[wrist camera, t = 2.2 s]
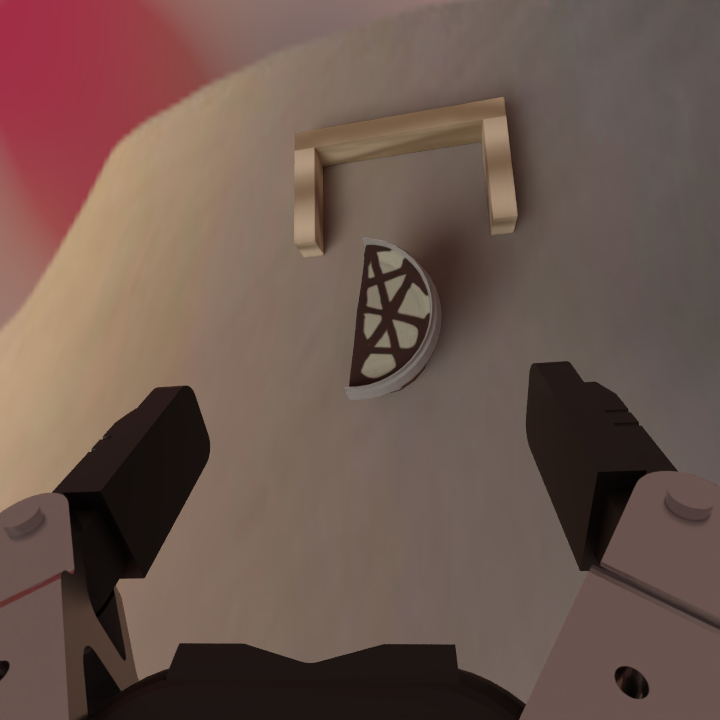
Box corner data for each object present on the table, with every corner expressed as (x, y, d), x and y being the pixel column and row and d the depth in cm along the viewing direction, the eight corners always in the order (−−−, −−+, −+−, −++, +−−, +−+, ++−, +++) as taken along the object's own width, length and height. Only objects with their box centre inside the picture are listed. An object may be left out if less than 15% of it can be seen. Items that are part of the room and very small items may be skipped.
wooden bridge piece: (513, 232, 41) (517, 215, 39) (304, 257, 45) (294, 243, 42) (500, 120, 44) (503, 96, 41) (304, 152, 48) (294, 133, 45)
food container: (438, 418, 39) (433, 403, 30) (369, 411, 41) (342, 395, 31) (449, 284, 42) (447, 231, 32) (383, 281, 43) (362, 230, 33)
